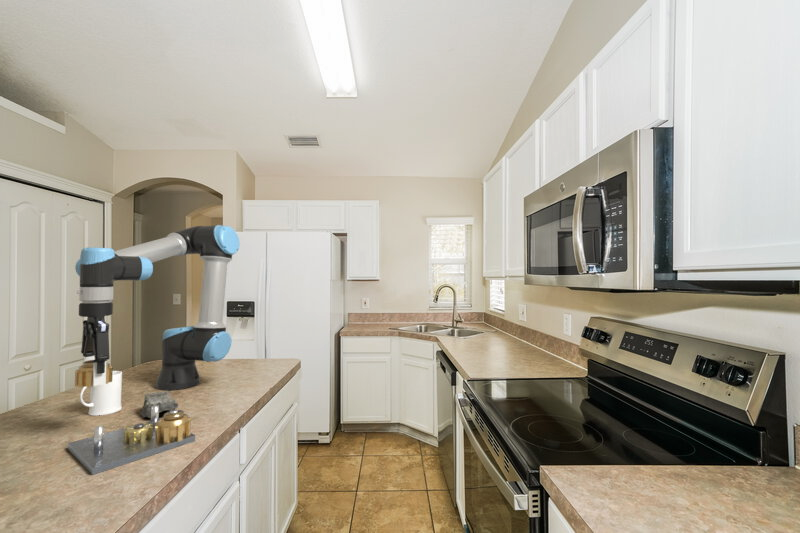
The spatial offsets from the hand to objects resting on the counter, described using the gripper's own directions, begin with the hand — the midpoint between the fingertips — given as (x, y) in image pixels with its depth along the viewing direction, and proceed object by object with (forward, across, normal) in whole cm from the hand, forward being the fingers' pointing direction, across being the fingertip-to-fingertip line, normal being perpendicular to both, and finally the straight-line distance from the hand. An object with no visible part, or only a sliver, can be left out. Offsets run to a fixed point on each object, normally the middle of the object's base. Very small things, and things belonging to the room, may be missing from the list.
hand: (94, 381), depth 107 cm
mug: (+14, -16, +6) cm, 22 cm away
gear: (0, 0, 0) cm, 0 cm away
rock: (+14, 0, +16) cm, 22 cm away
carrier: (+14, +19, +4) cm, 24 cm away
